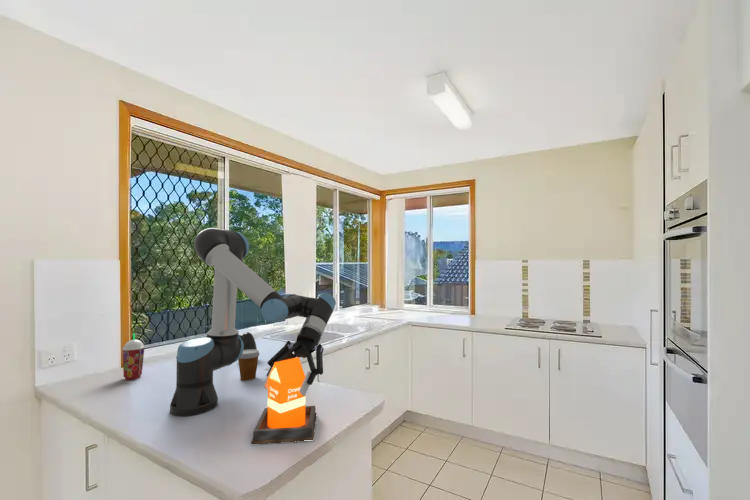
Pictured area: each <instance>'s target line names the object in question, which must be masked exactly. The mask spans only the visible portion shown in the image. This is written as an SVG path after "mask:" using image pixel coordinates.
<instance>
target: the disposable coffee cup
mask: <svg viewBox="0 0 750 500" xmlns="http://www.w3.org/2000/svg"><path fill="white" fill-rule="evenodd" d="M259 356H260V352H259V350H258V349H257V350H256V349H247V350H243V353H242V355H241V357H240V358H239V359H238V360H237V361H238V367H239V368H238V369H239V377H240V381H243V382H244V381H252V380H255V379H256V376H257V370H258V369H257V368H258V360H259Z"/></svg>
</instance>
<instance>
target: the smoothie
mask: <svg viewBox="0 0 750 500" xmlns="http://www.w3.org/2000/svg"><path fill="white" fill-rule="evenodd" d="M145 347H146V346H145V345H144V343H143V342H142V341H141V340H139V339H136V333H133V334H132V339H130V340H128V341H127V342H126V343H125V344H124V346H123V347H122V349H121V351H122V367H123V368H122V369H123V372H122V373H123V378H124V379H126V381H134V380H137V378H138V379H140V378H141V375H143V367H144V366H143V365H144V358H145V357H144V356H145V355H144V354H145ZM133 379H134V380H133Z"/></svg>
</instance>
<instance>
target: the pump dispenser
mask: <svg viewBox="0 0 750 500" xmlns="http://www.w3.org/2000/svg"><path fill="white" fill-rule="evenodd" d="M239 336H240V337H241V340H243V344H244V349H243V350H247V349H256V350H258V349H257V348H258V347H257V344H256V339H255V337H254V335H253V334H252V332H249V331H246V332H244V333H242V335H241V334H239Z"/></svg>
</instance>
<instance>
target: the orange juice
mask: <svg viewBox="0 0 750 500" xmlns="http://www.w3.org/2000/svg"><path fill="white" fill-rule="evenodd" d="M300 359H301V358H300V357H296V358H292V359H288V360H283V361H278V362H274V366H273V368H272V370H271V373H270V375H269V378H268V390H267V408H268V427H270V428H271V429H273V428H291V427H300V426H303V425H305V406H307V405H306V398H307V397H306V395H305V396H302V395H301V393H300V392H299V390H300V388H301V386H302V383H303V381H304V379H305V377H306V375H305V372H304V369H303V365H302V362H301V360H300Z"/></svg>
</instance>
